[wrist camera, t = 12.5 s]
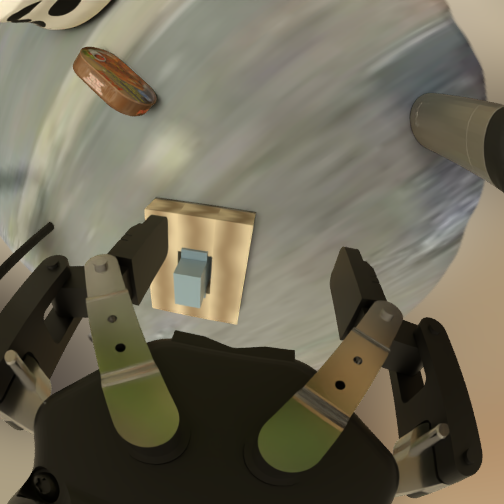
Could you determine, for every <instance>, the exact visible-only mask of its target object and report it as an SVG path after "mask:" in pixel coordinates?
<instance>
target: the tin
mask: <svg viewBox="0 0 504 504" xmlns="http://www.w3.org/2000/svg"><path fill="white" fill-rule="evenodd" d="M73 69H74V71H75V73H76V74H77V75H78V76H79V77H80V78H81V79H82V80H83V81H84V82H85V83H86V84H87V85H88V86H89V87H90V88H91V89H92V90H93V91H94V92H95V93H96V94H97V95H98V96H99V97H100V98H102V99H103V100H104V101H105V102H106V103H107V104H108V105H109V106H110V107H112V108H113V109H115V110H116V111H118V112H120V113H123V114H125V115H129V116H140V115H144V114H145V113H146V112H147V111H148V110H149V109H150V107H151V106H152V105H153V104H155V103H156V101H157V98H156V94H155V92H154V91H153V90H152V88H151V87H150V86H149V85H148V84H147V83H146V82H145V81H143V80H142V79H141V78H140V77H139V76H138V75H137V74H136V73H135V72H133V71H132V70H131V69H130V68H129V67H128V66H127V65H126V64H124V63H123V62H122V61H121V60H120V59H119V58H117V57H116V56H114V55H113V54H111V53H109V52H107V51H105V50H102V49H99V48H95V47H84V48H82V49H81V51H80V53H79V55H78V56H77V58H76V60H75V61H74V63H73Z"/></svg>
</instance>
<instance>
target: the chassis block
mask: <svg viewBox="0 0 504 504" xmlns="http://www.w3.org/2000/svg"><path fill="white" fill-rule="evenodd" d="M255 213H256V212H250V211H244V210H238V209H232V208H226V207H219V206H212V205H206V204H199V203H192V202H185V201H178V200H170V199H163V198H155V199H154V200H153V201H152V202H151V203H150V204H149V205H148V206H147V207H146V208H145V220H146V219H147V218H148V217H149V216H150V215H158V216H165V217H167V219H168V253H167V257H166V259H165V261H164V263H163V264H162V266H161V268H160V269H159V271H158V273H157V274H156V276H155V278H154V280H153V281H152V283H151V285H150V290H151V298H152V306H153V308H156V309H161V310H165V311H170V312H174V313H179V314H184V315H189V316H194V317H199V318H204V319H209V320H215V321H220V322H226V323H232V324H237V321H238V315H239V309H240V303H241V297H242V291H243V285H244V279H245V273H246V267H247V261H248V255H249V249H250V243H251V237H252V231H253V225H254V219H255ZM182 248H189V249H195V250H201V251H208V256H210V257H211V274H210V279H209V282H208V286H207V289H206V298H203V301H202V304H201V307H200V308H195V307H189V306H184V305H179V304H175V294H174V277H173V273H174V271H175V269H176V267H177V265H178V263H179V261H180V259H181V249H182Z"/></svg>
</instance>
